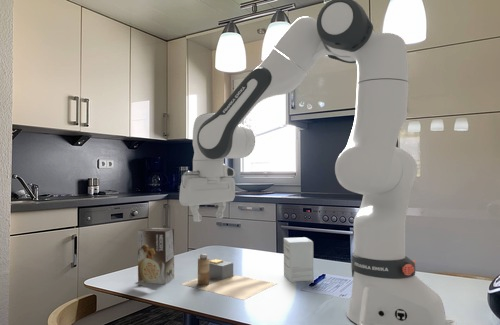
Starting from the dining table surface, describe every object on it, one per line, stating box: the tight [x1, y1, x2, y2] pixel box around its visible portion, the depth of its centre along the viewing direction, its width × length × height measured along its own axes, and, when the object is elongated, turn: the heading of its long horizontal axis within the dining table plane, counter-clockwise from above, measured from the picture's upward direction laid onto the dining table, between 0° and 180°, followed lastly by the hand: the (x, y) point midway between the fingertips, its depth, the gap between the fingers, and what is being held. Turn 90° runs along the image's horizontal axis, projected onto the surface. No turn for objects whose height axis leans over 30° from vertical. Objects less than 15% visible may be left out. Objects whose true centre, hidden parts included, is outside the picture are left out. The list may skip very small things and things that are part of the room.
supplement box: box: [283, 236, 315, 283], centre depth 112 cm, size 7×7×13 cm
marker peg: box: [197, 253, 210, 285], centre depth 106 cm, size 3×3×8 cm
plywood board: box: [180, 274, 277, 301], centre depth 105 cm, size 22×16×1 cm
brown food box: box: [137, 227, 175, 287], centre depth 110 cm, size 9×6×16 cm
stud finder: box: [209, 258, 234, 280], centre depth 113 cm, size 7×5×4 cm
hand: (208, 219), depth 106 cm, fingers open, 8 cm apart
